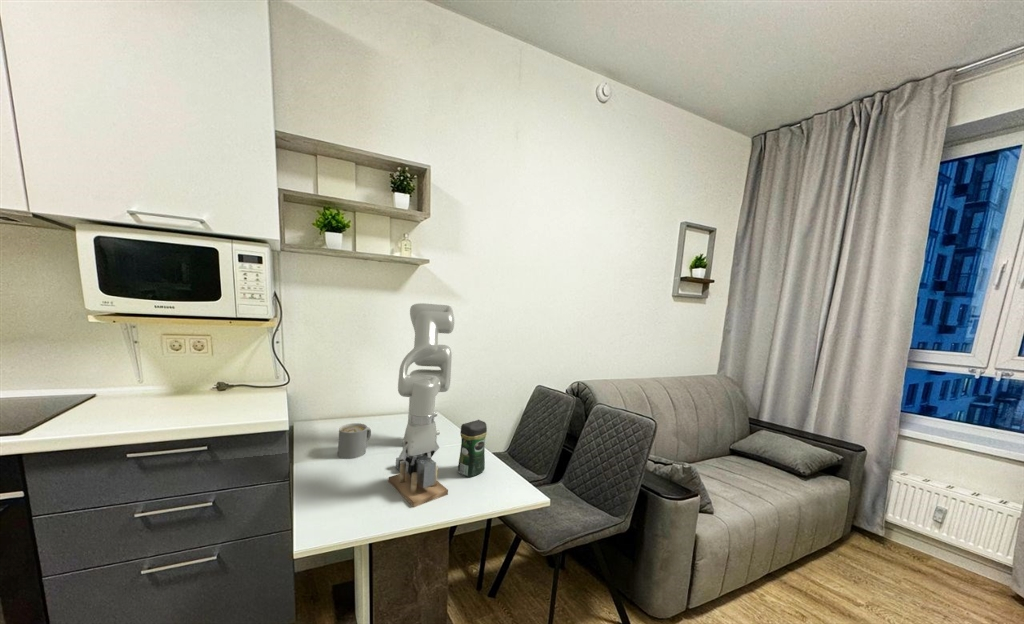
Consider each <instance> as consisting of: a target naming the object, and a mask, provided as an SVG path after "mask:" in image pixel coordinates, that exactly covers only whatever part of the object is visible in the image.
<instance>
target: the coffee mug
mask: <svg viewBox="0 0 1024 624" xmlns="http://www.w3.org/2000/svg"><path fill="white" fill-rule="evenodd" d="M371 436H372V429H371V428H370V427H368V425H367V424H365V423H359V422H358V423H357V422H356V423H355V422H354V423H347V424H344V425H341V426H339V430H338V443H337V444H338V445H337V446H338V447H337V456H338V457H339V458H340V459H346V460H351V459H357V458H360V457H362V456H364V455H365V454H366V450H367V442H369V440H370V438H371Z"/></svg>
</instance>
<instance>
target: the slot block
mask: <svg viewBox="0 0 1024 624" xmlns="http://www.w3.org/2000/svg"><path fill="white" fill-rule="evenodd" d="M395 459H396V460H395V468H396V470H398V472H400V463H402V462H404V460H403V459H401V458H400V457H399V456H398V457H396V458H395Z"/></svg>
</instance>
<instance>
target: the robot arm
mask: <svg viewBox="0 0 1024 624" xmlns="http://www.w3.org/2000/svg"><path fill="white" fill-rule="evenodd" d="M409 316H410V321H411V323H412V327H413V330H414V341H413V342H414V343H413V344H414V346H413V348H412V349H411V350H410V351H409V352H408V353H407V354H406V355H405V357H404V358H403V359H402V361H401V362H400V367H399V370H398V379H397V380H398V381H397V391H398V394H399V395H400V396H401V397H404V398H409V399H408V401H409V402H408V414H407V424H406V427H405V432H404V434H403V435H404V437H403V439H402V451H401V452H400V453H399V455H398V457H400V458H401V459H403V460H405V461H407V462H408V463H409V466H408V473H409V474H410V475H411V476H412V473H413V472H415V470H416V465H415V464H414V463H415V459H416V455H420V454H425V455H426V456H428V457H429V458H430V459H432V458H433V456H434V454H436V452H437V451H438V450H439V449H440V446H439V444H438V443H437V436H440V434H441V432H440V430H437V426H436V421H435V418H436V417H438V413H437V412H435V410H436V409H435V408H436V396H437V395H438V394H439V393H445V392H447V391H449V390H450V388H451V379H452V377H451V376H452V375H451V374H452V360H453V359H452V358H453V357H452V349H451V348H450V346H449V345H446V344H439V334H452V332H453V331H454V328H455V315H454V311H453V308H452V306H450V305H447V304H435V303H421V302H420V303H414V304H412V305H411V306H410V308H409ZM413 363H414V364H415V365H417V366H418V367H436V368H440V369H431V368H430V369H428V368H427V369H425V368H424V369H423V368H422V369H421V368H419V369H415V370H412V371H411V372H410V373H409V374H408V369H409V368H410V366H411V365H412V364H413ZM407 452H408V456H406V454H407Z"/></svg>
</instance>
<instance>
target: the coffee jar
mask: <svg viewBox="0 0 1024 624" xmlns="http://www.w3.org/2000/svg"><path fill="white" fill-rule="evenodd" d="M487 429H488V428H487V423H486V422H485V421H484V420H480V419H477V420H472V421H469V422H465V423H463V424H461V426H460V436H461V445H460V452H459V457H458V458H459V459H458V466H457V471H458V473H459V474H460V475H462V476H463V477H469V478H473V477H474V476H477V475H479V474H481V473H483V472H484V471H485V469H486V467H485V464H486V463H485V462H486V461H485V451H486V450H485V449H486V448H485V445H486V444H485V443H486V442H485V441H486V437H487V432H488V430H487Z"/></svg>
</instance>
